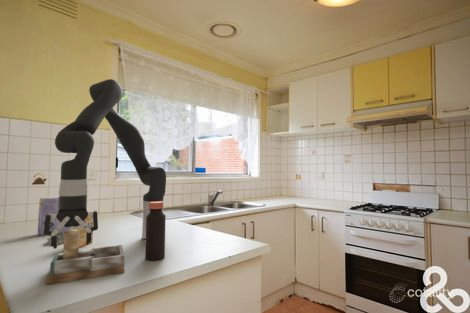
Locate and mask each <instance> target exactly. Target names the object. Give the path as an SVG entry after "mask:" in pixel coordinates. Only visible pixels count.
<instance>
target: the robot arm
mask: <svg viewBox="0 0 470 313" xmlns="http://www.w3.org/2000/svg"><path fill="white" fill-rule="evenodd" d="M88 93H89V95H90V97H91V99H92V102H91V103H89V104H88V105H87V106H86V107H84V108H83V109H82V111H81V112H80V113H79V114H78V116H76V118H75V120H73V122H71V123H69V124H68V125H66V126H65V127H63V128H62V129H60V131H59V132H58V133H57V135H55V136H56V137H55V139H54V146H55V147H56V149H57V150H58V151H59V152H60V153H64V154H75V156H74V158H73V159H69V160H66V161H63V162H62V163H61V165H60V181H59V182H60V183H59V186H58V187H59V188H58V189H59V190H58V197H59V211H58V214H50V213H49V214H47V215H46V217H45V226H44V235H43V236H49V237H51V245H50V246H51V248H53V249H57V248H58V244H57V242H58V235H57V233H58V232H59V230H60V229H61V228H62V227H63V226H64V227H71V226H74V227H78V226H79V225H81V226H82V227H83V228H84V229H85V230H86V231H87V233H86V245H85V246H88V245H89V243H90V244H92V243H91V235H92V232H93V233H94V232H95V231H97V230H98V229H99V220H98V219H99V218H98V210H93V211H88V209H87V206H88V181H87V180H88V179H87V178H88V177H87V176H88V165H89V161H90V158H91V155H92V152H93V150H94V145H95V140H94V137H93V135H94V134H96V131H97V130H98V129H99V127H100V125H101V123H102V121H103V120H104V119H105V120H106V121H107V122H108V124H109V126H110V127H111V129H112V130H113V132H114V134H115V135H116V137H117V140H118V141H119V143H120V145H121V147H122V148H123V149H124V151H125V152H126V154H127V156H128V158H129V159H130V162H132V165H133V166H134V169H135V171H136V173H137V176H138V178H139V180H140V181H141V183H142V184H143V185H144V186H149V188H148V192H146V193H145V194H143V196H142V199H143V200H142V226H141V228H142V229H141V231H142V232H141V236H142V237H141V239H143V240H146V217H147V215H148V214H149V213H150V210H149V203H150V202H156V201H159V202H163V203H164V198H165V195H166V188H167V187H166V186H167V173H166V171H165V169H164V168H163V167H161V166H152V165H151V163H150V162H149V161H148V159H147V157H146V152H145V151H146V150H145V146H146V145H145V140H144V137H143V136H142V134H141V132H140V130H139V128H138V127H137V126H136V125H135V124H134V123H133V122H131V121H130V120H128V119H127V118H124V117H123V116H122V115H121V114H119V113H118V112H117V110H116V109H115V108H114V107H115V106H116V105H117V104H118V103H119V102H120V101H121V100H122V98H123V95H124V92H123V88H122V86H121V85H120V83H119V82H118V81H117V80H116V79H114V78H111V79H105V80H102V81H99V82H96V83H93V84H92V85H90V87H89V90H88ZM162 209H163V210H162V212H163V213H164V207H163V208H162ZM88 215H89V216H90V217H91V218H93V227H90V226H89V225H88V224H87V222H86V221H85V219H86V218H87V216H88ZM54 218H57V219H58V220H59V221H60V224H59V225H58V226H57V227H56V229H55V230H54V231H53V230H50V227H51V221H53V220H54Z"/></svg>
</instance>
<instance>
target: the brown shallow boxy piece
mask: <svg viewBox="0 0 470 313" xmlns="http://www.w3.org/2000/svg"><path fill="white" fill-rule="evenodd" d="M124 273H125V253H124V248H123V244H118V245H108V246H100V247H93V248H91V249H87V250H79V252H78V258H74V259H66V260H63V252H59V253H55V255H54V256H53V258H52V260H51V262H50V266H49V273H48V275H47V277H46V278H45V286H49V285H55V284H61V283H67V282H74V281H78V280H79V281H80V280H86V279H93V278H100V277H107V276H112V275H119V274H124Z"/></svg>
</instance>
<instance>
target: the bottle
mask: <svg viewBox="0 0 470 313" xmlns="http://www.w3.org/2000/svg"><path fill="white" fill-rule="evenodd" d="M162 208H163V209H162ZM149 210H150V213H149V214H148V215H147V217H146V239H145V247H144V248H145V251H144V252H145V254H144V256H145V257H144V258H145V260H146V261H149V262H151V261H153V262H154V261H160V260H162V259H165V256H166V253H165V252H166V218H167V217H166V214H164V201H163V202H159V201H156V202H150V203H149ZM162 210H163V212H162Z"/></svg>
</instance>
